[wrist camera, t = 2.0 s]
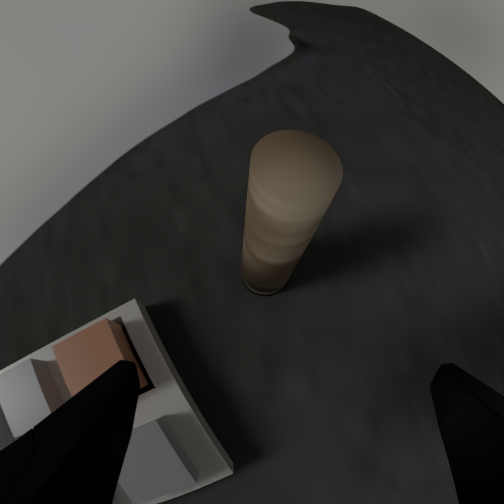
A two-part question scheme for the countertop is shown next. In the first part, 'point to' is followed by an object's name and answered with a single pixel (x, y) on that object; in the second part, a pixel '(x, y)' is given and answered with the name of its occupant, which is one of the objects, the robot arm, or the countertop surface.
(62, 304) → the countertop surface
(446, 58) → the countertop surface
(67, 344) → the terracotta key
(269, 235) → the tan banded cylinder
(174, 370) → the keypad
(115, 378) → the robot arm
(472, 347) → the countertop surface
